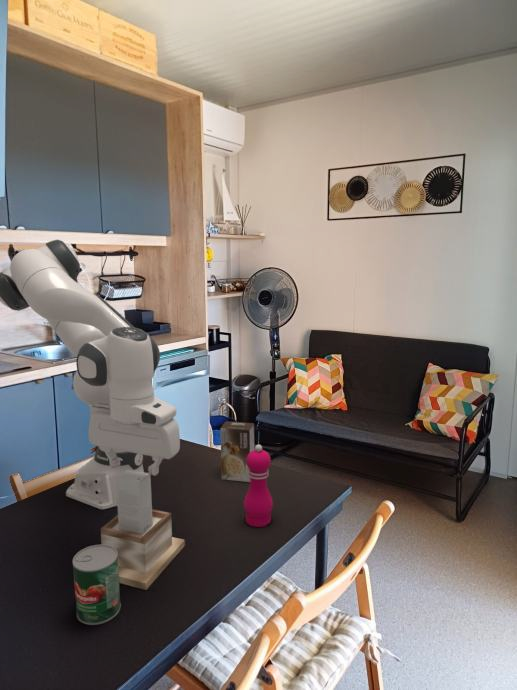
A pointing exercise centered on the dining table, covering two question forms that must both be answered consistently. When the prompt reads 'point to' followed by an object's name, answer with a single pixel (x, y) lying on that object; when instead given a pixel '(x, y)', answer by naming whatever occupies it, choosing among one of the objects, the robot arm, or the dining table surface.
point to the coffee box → (236, 450)
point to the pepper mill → (258, 489)
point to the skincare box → (134, 501)
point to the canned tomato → (96, 584)
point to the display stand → (143, 549)
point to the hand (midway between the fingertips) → (134, 470)
